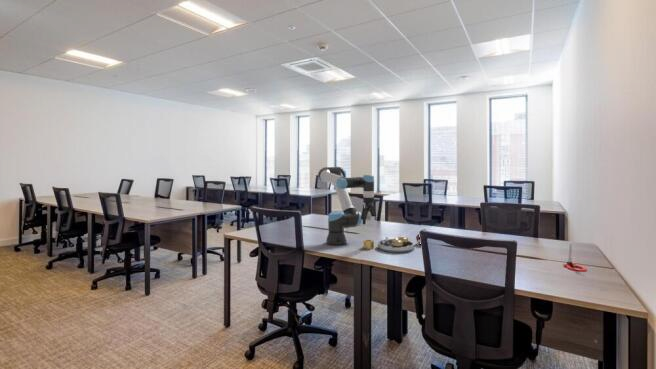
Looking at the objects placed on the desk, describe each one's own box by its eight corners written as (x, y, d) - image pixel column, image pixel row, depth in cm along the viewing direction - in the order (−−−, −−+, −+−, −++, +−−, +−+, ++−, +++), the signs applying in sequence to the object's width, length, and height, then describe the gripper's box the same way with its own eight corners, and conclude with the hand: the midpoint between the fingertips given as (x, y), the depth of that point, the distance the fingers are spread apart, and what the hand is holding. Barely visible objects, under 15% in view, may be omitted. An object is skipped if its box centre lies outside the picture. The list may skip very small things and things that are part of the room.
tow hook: (590, 271, 172) (574, 265, 181) (592, 248, 170) (576, 243, 179) (576, 272, 171) (561, 266, 180) (577, 249, 169) (562, 243, 178)
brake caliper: (430, 238, 240) (432, 228, 232) (432, 250, 232) (434, 240, 224) (414, 238, 242) (416, 228, 234) (416, 250, 233) (417, 240, 226)
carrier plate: (372, 250, 221) (372, 239, 221) (386, 242, 242) (386, 232, 241) (407, 254, 208) (407, 243, 208) (418, 246, 229) (418, 236, 228)
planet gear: (361, 248, 226) (361, 241, 226) (366, 246, 233) (366, 239, 232) (371, 249, 223) (371, 242, 222) (375, 247, 229) (375, 240, 228)
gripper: (365, 199, 213) (366, 231, 214) (380, 195, 234) (380, 224, 236) (355, 198, 217) (356, 229, 218) (371, 195, 238) (371, 223, 240)
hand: (368, 227), depth 227 cm, fingers open, 13 cm apart
